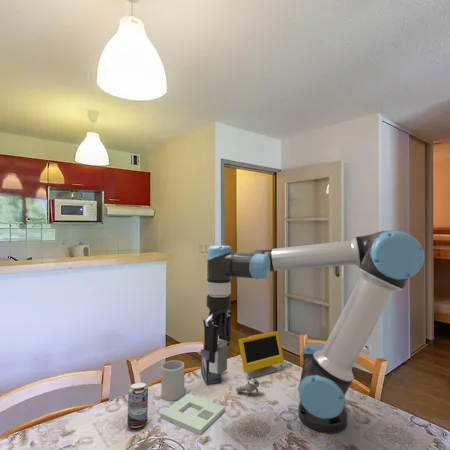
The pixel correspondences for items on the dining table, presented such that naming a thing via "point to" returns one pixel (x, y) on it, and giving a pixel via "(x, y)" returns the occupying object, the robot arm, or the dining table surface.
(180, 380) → the mug
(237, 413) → the dining table surface
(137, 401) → the beverage can
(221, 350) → the block
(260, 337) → the toy computer monitor
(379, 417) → the dining table surface
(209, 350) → the robot arm
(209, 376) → the small box
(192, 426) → the outlet plate
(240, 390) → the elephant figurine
